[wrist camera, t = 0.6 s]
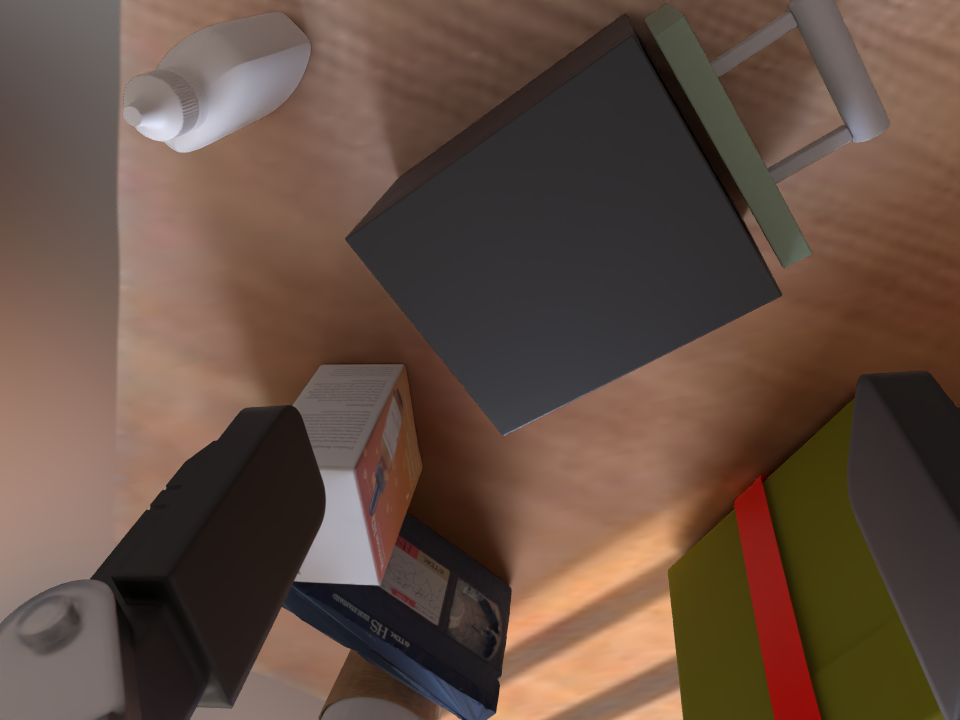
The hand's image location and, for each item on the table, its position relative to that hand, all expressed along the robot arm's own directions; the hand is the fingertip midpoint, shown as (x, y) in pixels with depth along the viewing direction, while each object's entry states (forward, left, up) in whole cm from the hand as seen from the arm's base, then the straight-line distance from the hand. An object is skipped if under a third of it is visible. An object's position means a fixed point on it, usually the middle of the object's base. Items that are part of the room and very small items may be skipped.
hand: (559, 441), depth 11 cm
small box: (+15, -17, -28) cm, 36 cm away
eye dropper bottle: (-5, -15, -28) cm, 32 cm away
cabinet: (+5, -2, -28) cm, 28 cm away
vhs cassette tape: (+25, -18, -28) cm, 41 cm away
